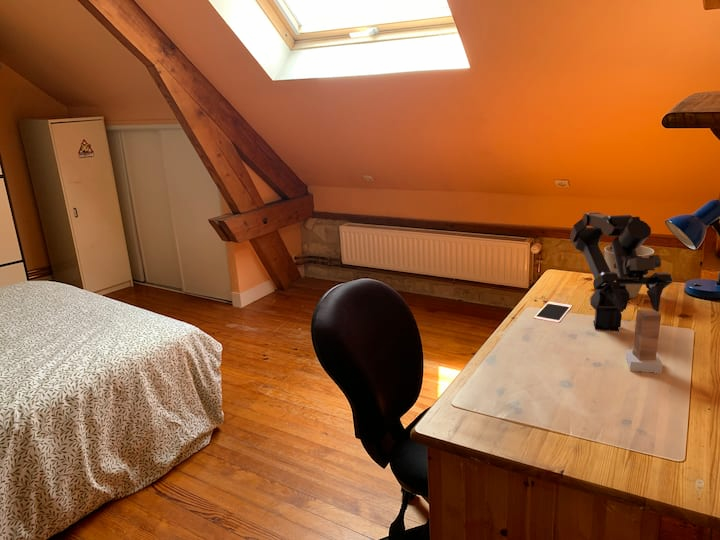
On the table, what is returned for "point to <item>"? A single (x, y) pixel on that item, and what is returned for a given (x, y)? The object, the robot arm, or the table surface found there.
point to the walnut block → (646, 334)
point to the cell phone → (553, 312)
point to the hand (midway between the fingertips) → (639, 311)
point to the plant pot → (610, 260)
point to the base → (643, 363)
